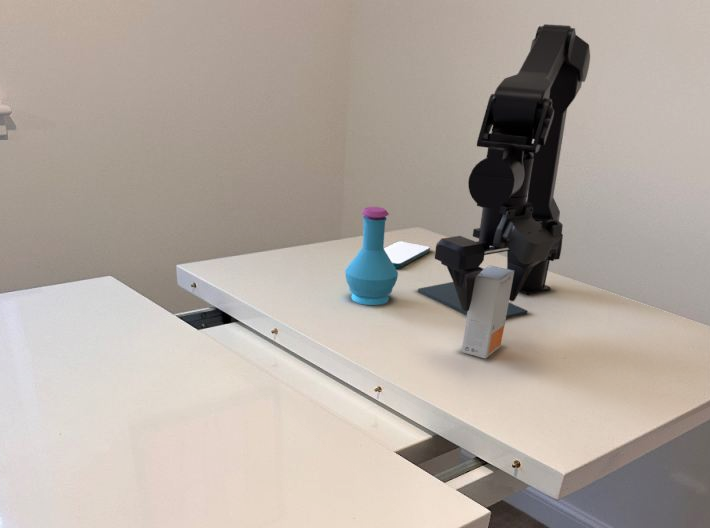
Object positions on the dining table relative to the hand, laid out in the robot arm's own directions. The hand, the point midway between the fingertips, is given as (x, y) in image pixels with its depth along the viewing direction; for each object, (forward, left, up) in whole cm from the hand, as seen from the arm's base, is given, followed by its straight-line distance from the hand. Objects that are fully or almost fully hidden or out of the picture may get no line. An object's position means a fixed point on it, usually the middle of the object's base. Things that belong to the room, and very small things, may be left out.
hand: (488, 305), depth 106 cm
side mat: (-13, -17, -7) cm, 22 cm away
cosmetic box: (0, 0, -7) cm, 7 cm away
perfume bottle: (+2, -27, -7) cm, 28 cm away
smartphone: (-18, -45, -7) cm, 49 cm away
